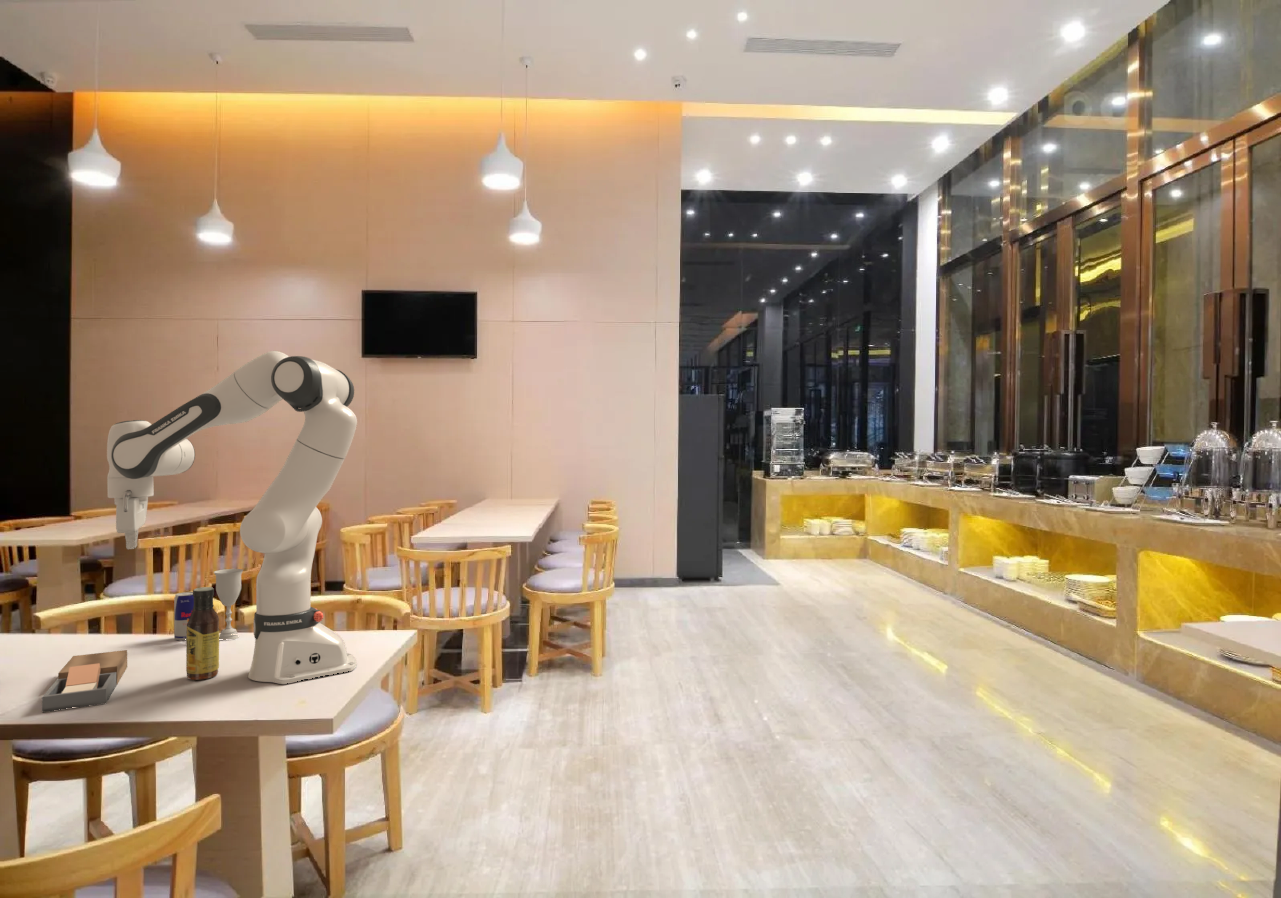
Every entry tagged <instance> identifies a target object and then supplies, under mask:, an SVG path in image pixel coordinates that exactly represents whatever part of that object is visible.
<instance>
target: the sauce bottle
mask: <svg viewBox="0 0 1281 898" xmlns="http://www.w3.org/2000/svg"><path fill="white" fill-rule="evenodd" d="M192 592H193V597H194V606H193V610H192V613H191V616H190V618H189V621H188V624H187V639H186V640H185V641H186V645H185V646H186V647H185V648H186V649H185V651H186V655H185V656H186V657H185V658H186V659H185V660H186V661H185V662H186V663H185V665H186V666H185V667H186V668H185V669H186V670H185V671H186V677H187V679H188V680H192V681H203V680H208V679H212V678H215V677H216V676H217V675H219V667H220V640H219V636H220V623H219V622H220V618H219V615H218V613H217V611H215V609H214V596H215V588H213V587H212V586H204V587H197V588H194V589H193V590H192Z"/></svg>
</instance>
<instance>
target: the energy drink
mask: <svg viewBox="0 0 1281 898" xmlns="http://www.w3.org/2000/svg"><path fill="white" fill-rule="evenodd" d="M173 601H174V605H173V606H174V607H173V608H174V613H173V615H174V616H173V617H174V618H173V621H174V623H173V625H174V627H173V630H174V632H173V633H174V635H173V636H174V640H175V641H177V640H185V639H187V624H188V621H189V618H190V616H191V613H192V610H193V606H194V597H193V591H185V592H178V593H175V596H174V599H173ZM185 641H186V640H185Z"/></svg>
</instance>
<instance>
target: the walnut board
mask: <svg viewBox="0 0 1281 898" xmlns="http://www.w3.org/2000/svg"><path fill="white" fill-rule="evenodd" d="M98 663H100V669H101V670H100V674H105V673H113V672H116V686H117V685H118V684H119V682H120V680H122V678H123V676H124V673H125V672H126V670H127V668H128V649H124V650H122V649H121V650H115V651H105V652H98V653H87V654H79V655H73V656H71V658H70V659H69V660H68V662H67V663H65V665H64V666H63V667H62V668H61V669H60V671H58V673H57V674H58V675H57V676H58V678H57V679H64V678H67V677H68V673H69V668H70V667H74V666H82V665H90V664H98Z"/></svg>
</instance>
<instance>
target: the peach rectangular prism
mask: <svg viewBox="0 0 1281 898" xmlns="http://www.w3.org/2000/svg"><path fill="white" fill-rule="evenodd" d="M100 670H101V669H100V663H98V664H90V665H82V666H74V667H70V668H69V673H68V677H67V682H66V686H73V685H80V684H88V683H95V682H97V687H98V681H99V676H100Z"/></svg>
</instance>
